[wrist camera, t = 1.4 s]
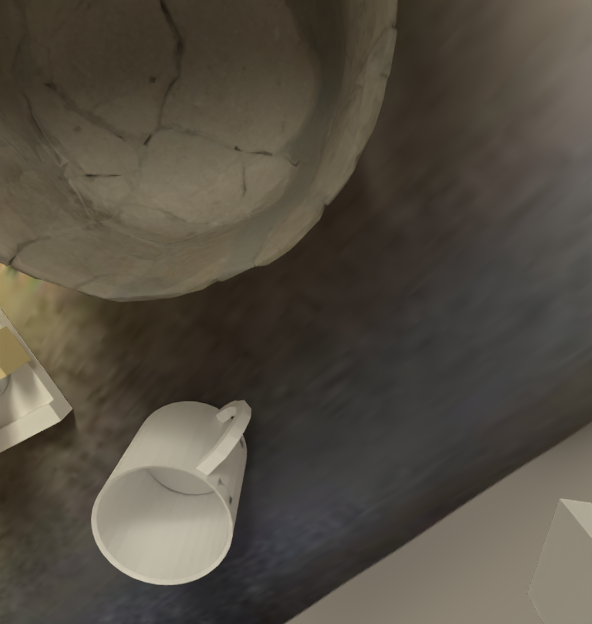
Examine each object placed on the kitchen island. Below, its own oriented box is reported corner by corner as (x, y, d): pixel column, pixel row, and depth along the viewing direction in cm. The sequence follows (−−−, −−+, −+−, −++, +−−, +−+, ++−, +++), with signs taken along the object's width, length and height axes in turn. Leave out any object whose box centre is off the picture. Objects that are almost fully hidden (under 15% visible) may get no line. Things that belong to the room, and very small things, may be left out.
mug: (187, 515, 42) (157, 607, 33) (114, 440, 40) (61, 516, 31) (298, 438, 40) (298, 514, 31) (226, 355, 38) (204, 411, 29)
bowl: (313, -155, 30) (327, -468, 15) (389, 205, 35) (452, 226, 21) (-24, -45, 31) (-302, -233, 17) (100, 282, 37) (-28, 352, 22)
